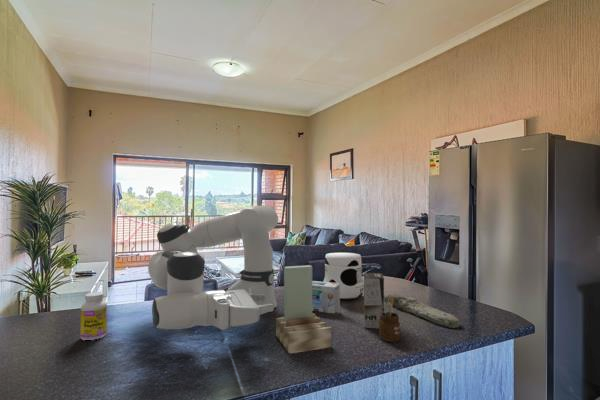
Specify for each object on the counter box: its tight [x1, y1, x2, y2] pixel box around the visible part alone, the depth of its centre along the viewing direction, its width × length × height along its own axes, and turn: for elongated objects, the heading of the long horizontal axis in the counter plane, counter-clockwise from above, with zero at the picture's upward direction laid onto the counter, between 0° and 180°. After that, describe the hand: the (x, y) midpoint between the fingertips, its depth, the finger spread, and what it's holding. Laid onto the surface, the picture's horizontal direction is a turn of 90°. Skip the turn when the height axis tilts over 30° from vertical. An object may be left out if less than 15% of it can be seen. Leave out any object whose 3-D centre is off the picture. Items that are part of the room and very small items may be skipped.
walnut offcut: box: [286, 315, 320, 327], centre depth 94 cm, size 9×2×6 cm, turn 110°
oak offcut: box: [294, 325, 321, 331], centre depth 90 cm, size 7×2×5 cm, turn 110°
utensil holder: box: [378, 295, 401, 343], centre depth 99 cm, size 6×6×12 cm
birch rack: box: [275, 313, 333, 354], centre depth 94 cm, size 12×13×6 cm
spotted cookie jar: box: [322, 252, 364, 301], centre depth 143 cm, size 17×17×18 cm
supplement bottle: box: [80, 291, 108, 341], centre depth 100 cm, size 7×7×13 cm
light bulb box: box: [312, 280, 341, 314], centre depth 122 cm, size 11×7×11 cm, turn 68°
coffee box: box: [363, 272, 385, 330], centre depth 112 cm, size 9×6×16 cm
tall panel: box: [283, 264, 313, 322], centre depth 98 cm, size 8×2×20 cm, turn 110°
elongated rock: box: [384, 293, 461, 329], centre depth 123 cm, size 35×5×10 cm
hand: (268, 302), depth 94 cm, fingers open, 8 cm apart
